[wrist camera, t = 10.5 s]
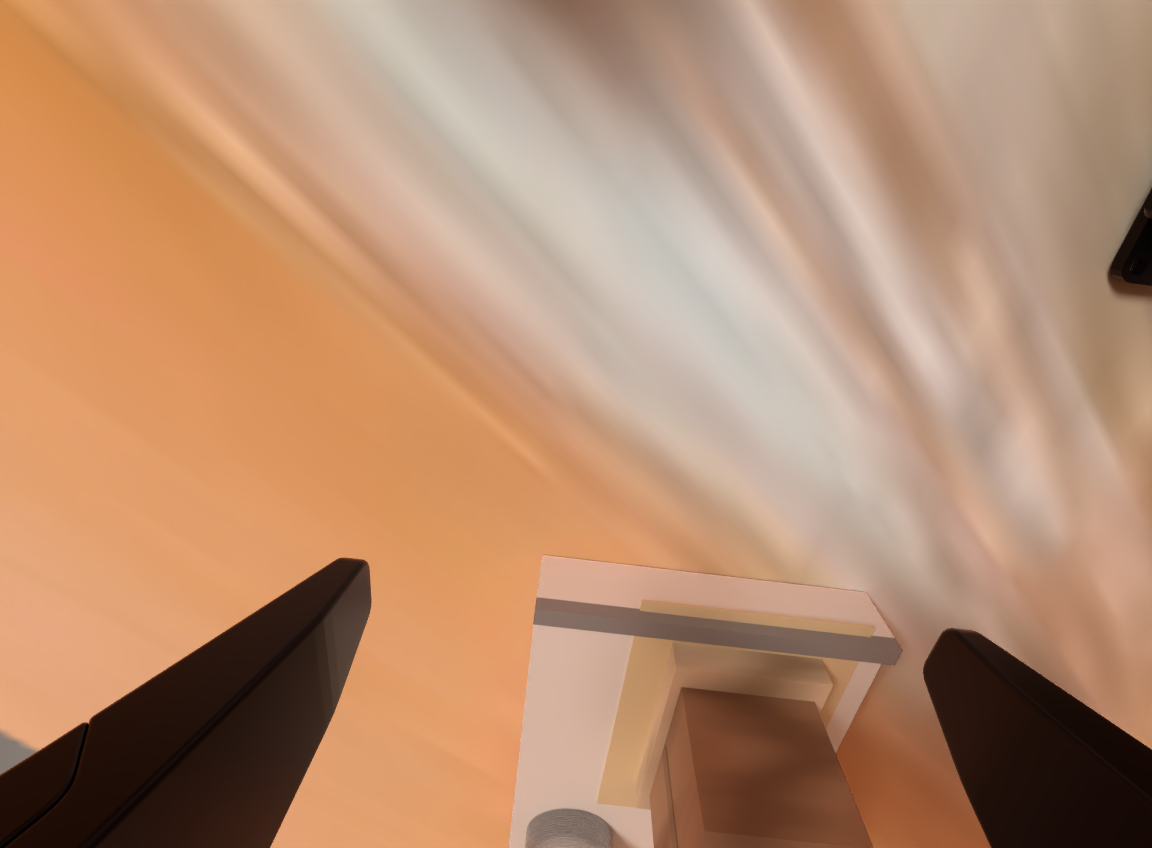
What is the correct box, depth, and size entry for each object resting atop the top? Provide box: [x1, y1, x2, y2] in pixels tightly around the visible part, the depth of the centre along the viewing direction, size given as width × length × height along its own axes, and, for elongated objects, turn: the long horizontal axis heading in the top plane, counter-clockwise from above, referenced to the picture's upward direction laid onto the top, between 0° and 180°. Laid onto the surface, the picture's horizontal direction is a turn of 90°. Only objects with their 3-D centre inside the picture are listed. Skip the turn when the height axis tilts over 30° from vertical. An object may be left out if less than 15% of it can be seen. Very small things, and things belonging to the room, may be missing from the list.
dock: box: [509, 555, 902, 848], centre depth 26 cm, size 14×18×3 cm
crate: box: [635, 642, 873, 848], centre depth 21 cm, size 6×9×6 cm, turn 173°
